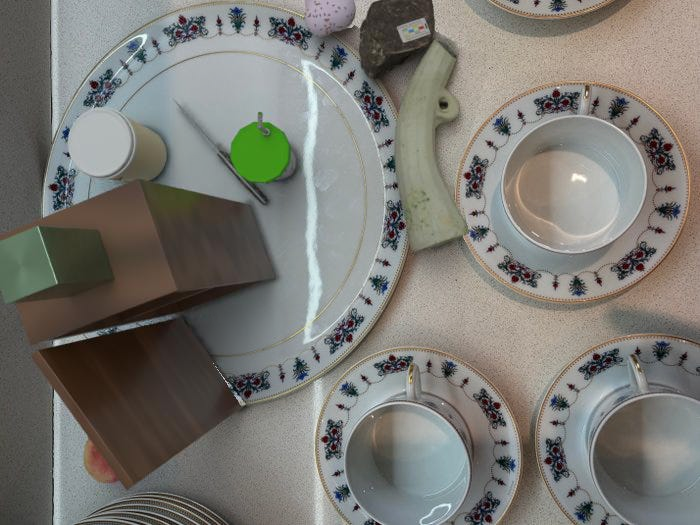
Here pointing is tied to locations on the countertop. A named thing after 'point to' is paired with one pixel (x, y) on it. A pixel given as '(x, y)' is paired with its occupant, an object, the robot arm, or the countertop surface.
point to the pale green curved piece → (427, 153)
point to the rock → (394, 33)
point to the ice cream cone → (328, 15)
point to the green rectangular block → (51, 264)
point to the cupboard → (152, 258)
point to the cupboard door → (140, 393)
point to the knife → (231, 164)
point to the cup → (262, 153)
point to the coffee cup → (115, 147)
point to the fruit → (97, 465)
